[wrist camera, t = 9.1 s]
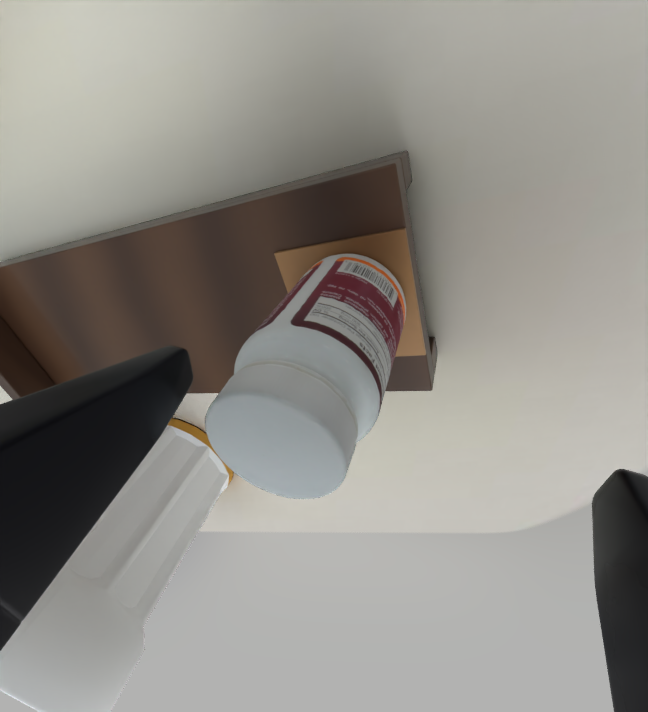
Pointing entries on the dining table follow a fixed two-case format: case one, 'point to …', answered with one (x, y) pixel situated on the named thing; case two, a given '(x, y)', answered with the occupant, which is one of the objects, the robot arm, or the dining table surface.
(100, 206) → the dining table surface
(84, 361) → the shelf
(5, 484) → the robot arm
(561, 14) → the dining table surface
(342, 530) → the dining table surface
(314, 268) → the pill bottle
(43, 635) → the cup
